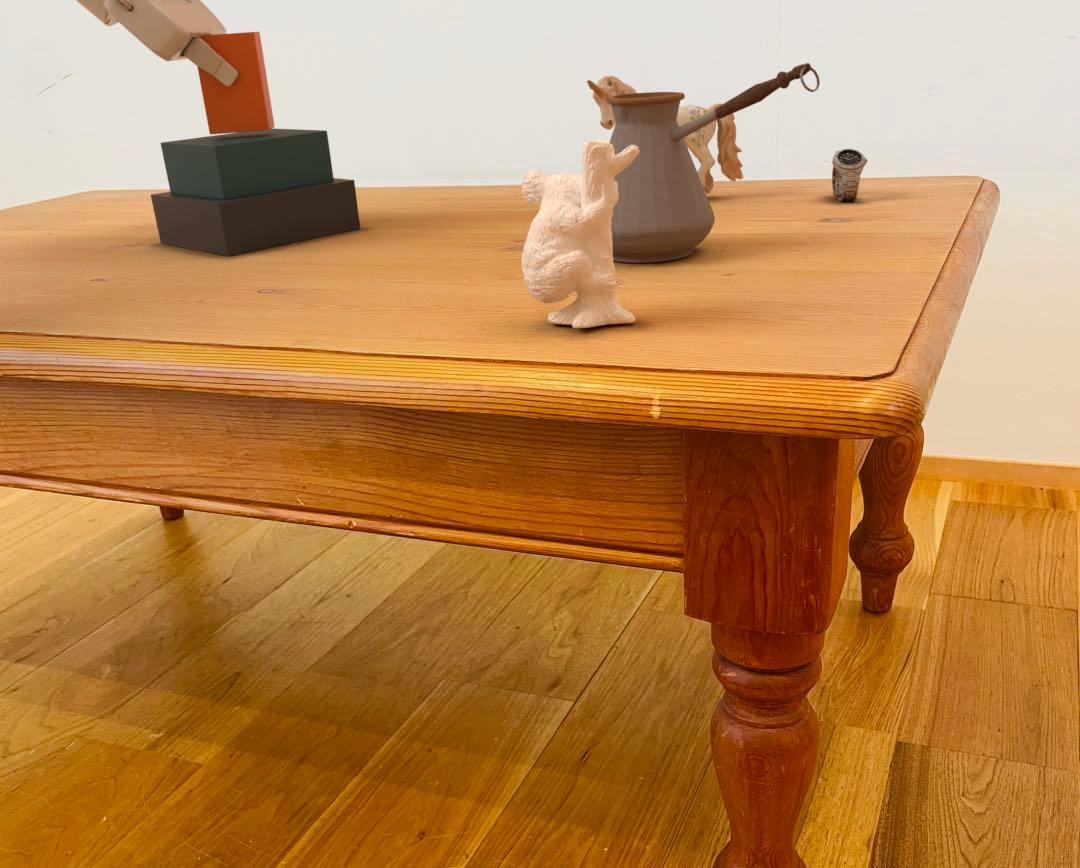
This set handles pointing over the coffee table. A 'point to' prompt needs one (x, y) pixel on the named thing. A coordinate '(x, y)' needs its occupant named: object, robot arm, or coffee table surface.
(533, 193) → the koala figurine
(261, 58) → the orange block
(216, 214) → the box stack
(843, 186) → the wristwatch
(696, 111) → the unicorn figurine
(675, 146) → the coffee pot
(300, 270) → the coffee table surface
